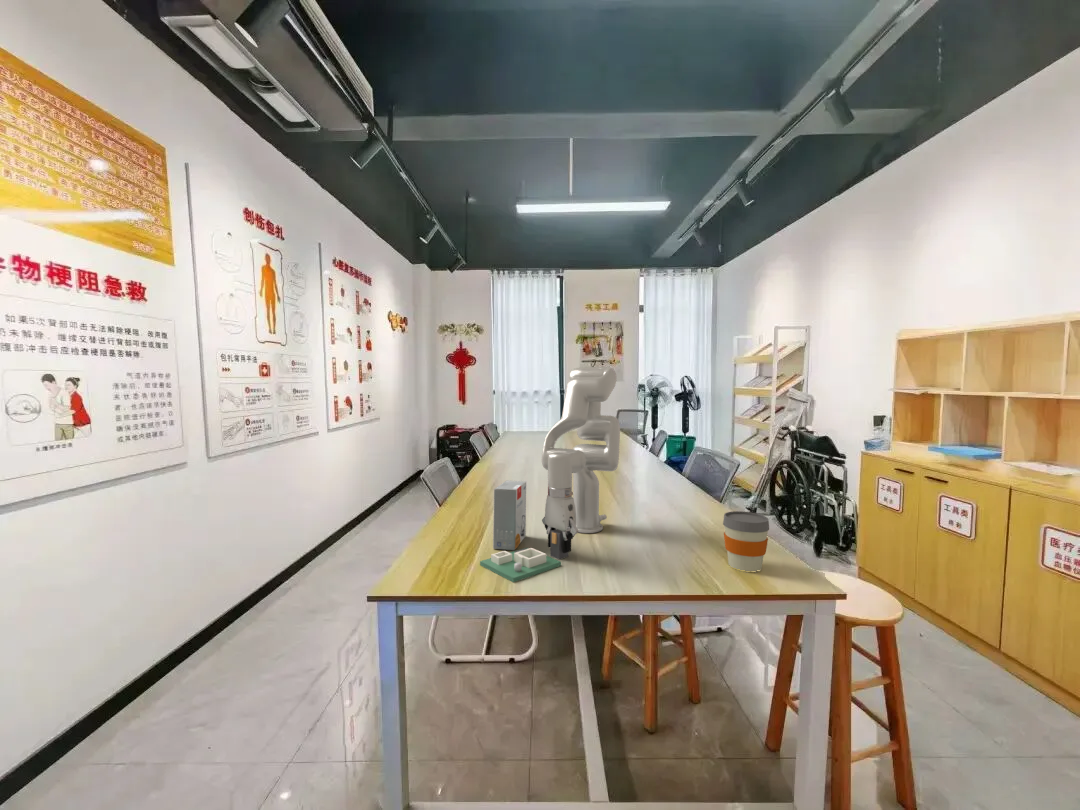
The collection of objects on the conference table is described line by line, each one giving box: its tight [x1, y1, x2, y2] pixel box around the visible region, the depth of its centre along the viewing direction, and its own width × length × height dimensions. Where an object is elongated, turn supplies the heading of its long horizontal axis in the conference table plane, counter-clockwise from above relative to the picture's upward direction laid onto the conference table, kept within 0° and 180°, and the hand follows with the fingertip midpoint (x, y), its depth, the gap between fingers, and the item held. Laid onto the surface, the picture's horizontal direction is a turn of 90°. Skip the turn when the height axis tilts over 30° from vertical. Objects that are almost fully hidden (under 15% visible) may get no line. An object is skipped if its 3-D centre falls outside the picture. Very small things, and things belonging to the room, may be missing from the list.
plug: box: [549, 529, 569, 560], centre depth 147 cm, size 4×4×8 cm
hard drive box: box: [492, 479, 527, 551], centre depth 160 cm, size 16×8×20 cm, turn 168°
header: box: [514, 547, 547, 568], centre depth 139 cm, size 7×7×2 cm
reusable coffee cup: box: [722, 510, 770, 571], centre depth 139 cm, size 13×13×15 cm
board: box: [479, 547, 562, 583], centre depth 140 cm, size 18×16×3 cm
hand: (559, 548), depth 147 cm, fingers open, 5 cm apart
